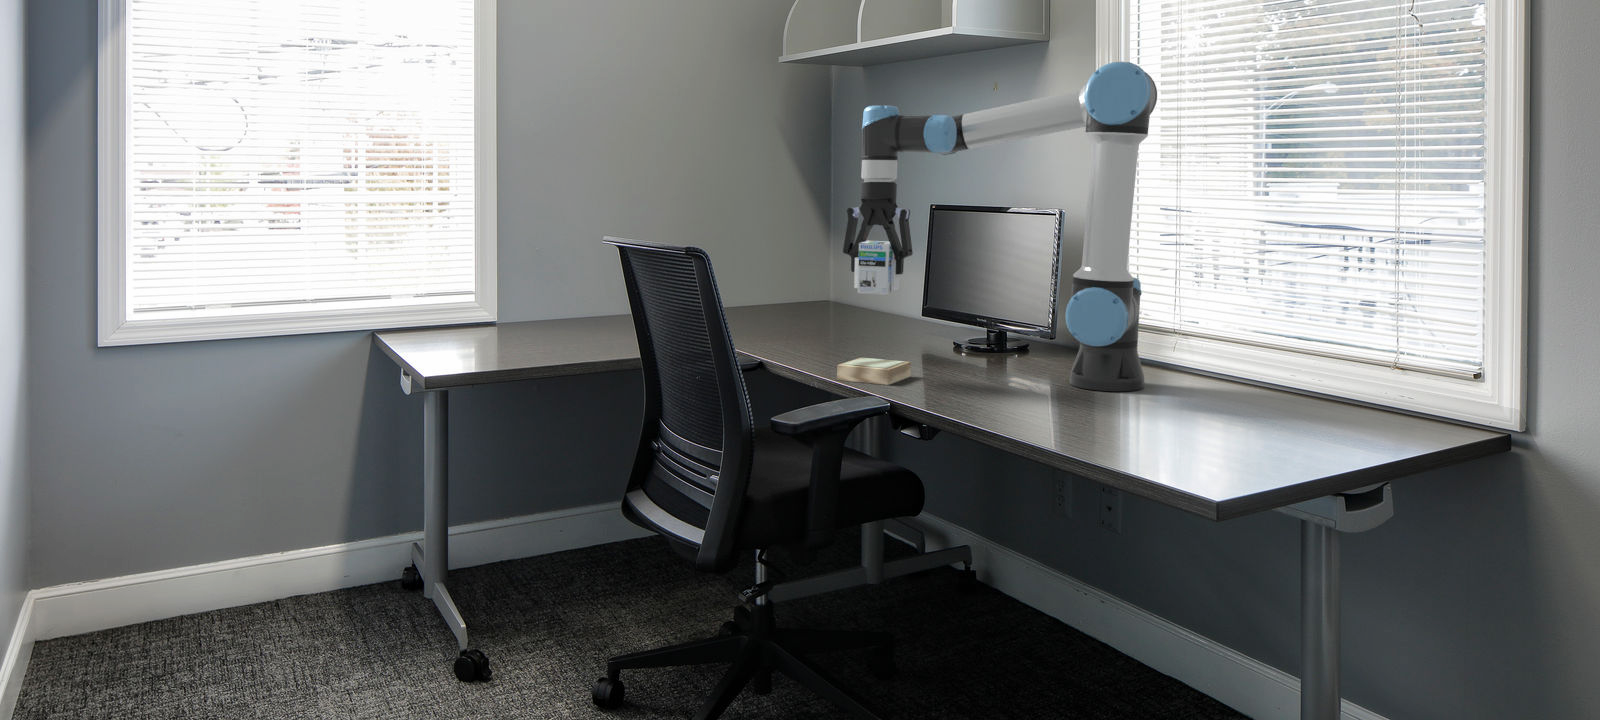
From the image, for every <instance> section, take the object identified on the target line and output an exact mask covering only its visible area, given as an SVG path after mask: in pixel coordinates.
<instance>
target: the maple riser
mask: <svg viewBox="0 0 1600 720" xmlns="http://www.w3.org/2000/svg"><path fill="white" fill-rule="evenodd" d="M911 367H912V362H911V361H903V360H892V359H884V358H883V359H881V358H872V357H871V358H870V357H859V358H858V357H857V358H855V359H852V360H849V361H846V362H843V363H840V364H837V365H836V380H837V381H845V382H856V383H864V384H873V385H874V384H876V385H884V386H890V385H892V384H895V383H897V382H900V381H902V380H905V379H907V378H910V377H911V376H912V375H911V370H912V368H911Z"/></svg>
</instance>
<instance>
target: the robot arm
mask: <svg viewBox="0 0 1600 720" xmlns="http://www.w3.org/2000/svg"><path fill="white" fill-rule="evenodd" d="M1153 79H1154V78H1152V76H1150V74H1148V73H1147V72H1146V71H1145V70H1144V69H1142V67H1140V66H1139V65H1138V64H1136V63H1133V62H1130V61H1114V62H1110V63H1106V64H1104V65H1102V66H1101V67H1099V68H1098V69H1097V70H1095V71H1094V72H1093V73H1092V74H1091V75H1090V77H1089V79H1088V81H1087V82H1086V83H1085V84H1084V86H1083V87H1082V88H1080V89H1079V90H1078V89H1077V90H1073V91H1069V92H1065V93H1064V92H1063V93H1059V94H1054V95H1050V96H1044V97H1041V98H1034V99H1030V100H1026V101H1021V102H1016V103H1011V104H1007V105H1001V106H997V107H992V108H987V109H981V110H978V111H973V112H968V113H963V114H958V115H954V116H951V115H947V114H946V115H944V114H933V115H932V114H929V115H927V114H926V115H901V114H900V111H899V107H897V106H895V105H869V106H867V107H865V108H864V110H863V115H862V117H863V118H862V127H861V132H862V133H861V174H860V176H861V179H862V180H863V181H862V182H861V183H860V199H861V202H860V204H859V206H857V207H848V208H847V210H846V213H847V223H846V230H845V237H844V243H843V247H842V248H843V249H842V252H843V254H845V255H848V256H849V257H850V262H851V263H850V271H851V273H854V277H853V279H854V280H853V281H854V283H853V284H854V286H853V288H854V289H858V267H859V243H861V242H864V241H867V239H868V237H869V235H870V232H871V230H872V228H873V227H874V226H880V227H881V226H882V228H883V230H884V231H885V234H886V237H887V239H888V242H890V244H891V247H892V250H893V253H894V256H895V258H894V259H892V260H891V290H894V291H898V290H900V275H903V274H904V264H905V263H904V261H905V259H906V258H908V257H911V256H913V245H912V244H913V243H912V237H911V228H910V221H909V220H910V214H911V210H910V208H905V209H904V208H901V207H898V204H897V197H898V196H897V195H898V193H897V192H898V189H897V188H898V183H897V182H895V180H897V179H898V155H899V154H898V153H928V154H938V155H943V156H948V155H953V154H956V153H959V152H962V151H967V150H971V149H976V148H982V147H988V146H991V145H998V144H1002V143H1009V142H1012V141H1019V140H1022V139H1023V140H1024V139H1029V138H1033V137H1040V136H1044V135H1048V134H1055V133H1060V132H1065V131H1070V130H1077V129H1080V128H1085V136H1086V137H1087V138H1088V139H1089V140H1090V142H1091V144H1092V146H1091V158H1090V168H1089V181H1088V191H1087V192H1088V193H1087V201H1086V202H1087V204H1086V215H1085V227H1084V237H1083V250H1082V259H1081V260H1082V261H1081V266H1080V268H1079V269H1078V270H1076V271H1075V272H1074V273H1073V275H1072V281H1071V282H1072V283H1071V294H1070V299H1069V300H1068V303H1067V305H1066V308H1065V315H1064V316H1065V325H1066V327H1067V329H1068V330H1069V333H1070V334H1071V335H1072V336H1073V337H1074V338H1075V339H1076V340H1077V341H1078V342H1079V349H1078V352H1077V355H1076V356H1075V360H1074V363H1073V365H1072V368H1071V371H1070V374H1069V384H1070V385H1071V386H1073V387H1076V388H1078V389H1079V388H1080V389H1086V390H1093V391H1103V392H1132V391H1133V392H1134V391H1138V390H1139V391H1140V390H1142V389H1144V387H1145V374H1144V370H1143V366H1142V363H1141V360H1140V355H1139V352H1138V342H1139V326H1140V306H1141V296H1142V290H1141V288H1142V287H1141V286H1142V285H1141V281H1140V279H1139V278H1137V277H1133V275H1132V274H1131V273H1130V272H1129V270H1128V261H1129V260H1128V259H1129V250H1130V240H1131V239H1130V238H1131V237H1130V236H1131V230H1132V229H1131V227H1132V219H1133V217H1132V216H1133V209H1134V207H1133V206H1134V199H1135V198H1134V197H1135V196H1134V195H1135V187H1136V175H1137V166H1138V165H1137V164H1138V154H1139V146H1140V144H1141V143H1142V142H1143V141H1144V140H1145V139H1146V138H1147V137H1149V126H1150V116H1151V114H1152V113H1153V111H1154V109H1155V107H1156V105H1157V101H1158V90H1157V89H1158V88H1157V85H1156V83H1155V81H1154V80H1153ZM860 215H862V217H863V219H862V223H861V224H860V229H859V232H858V234H857V228H858V221H859V217H860ZM896 215H897V218H898V225H899V233H900V238H899V237H898V236H899V235H898V233H897V230H896V225H895V222H894V220H893V219H894V217H895V216H896ZM856 234H857V236H856ZM900 240H901V242H900Z"/></svg>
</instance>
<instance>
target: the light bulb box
mask: <svg viewBox="0 0 1600 720" xmlns="http://www.w3.org/2000/svg"><path fill="white" fill-rule="evenodd" d="M894 258H895V256H894V253H893V250H892V247H891V244H890V242H889V241H884V240H883V241H882V240H880V241H879V240H870V239H869V240H867V239H866V241H864V242H861V243H859V267H858V288H857V294H864V295H865V294H866V295H867V294H869V295H883V296H885V295H886V296H887V295H889V294H892V292H894V291H895V290H891V260H892V259H894Z"/></svg>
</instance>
